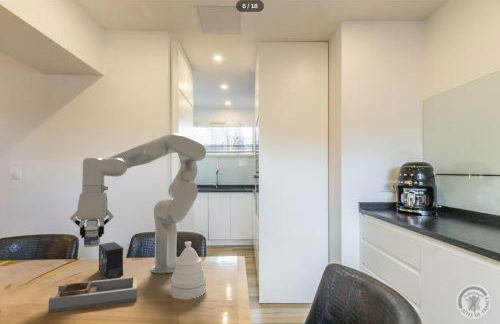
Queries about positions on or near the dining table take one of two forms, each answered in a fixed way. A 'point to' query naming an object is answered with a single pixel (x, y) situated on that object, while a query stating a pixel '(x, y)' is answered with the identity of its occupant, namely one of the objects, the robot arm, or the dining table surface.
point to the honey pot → (188, 275)
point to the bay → (98, 295)
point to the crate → (77, 289)
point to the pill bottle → (91, 233)
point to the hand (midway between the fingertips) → (91, 236)
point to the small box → (110, 260)
